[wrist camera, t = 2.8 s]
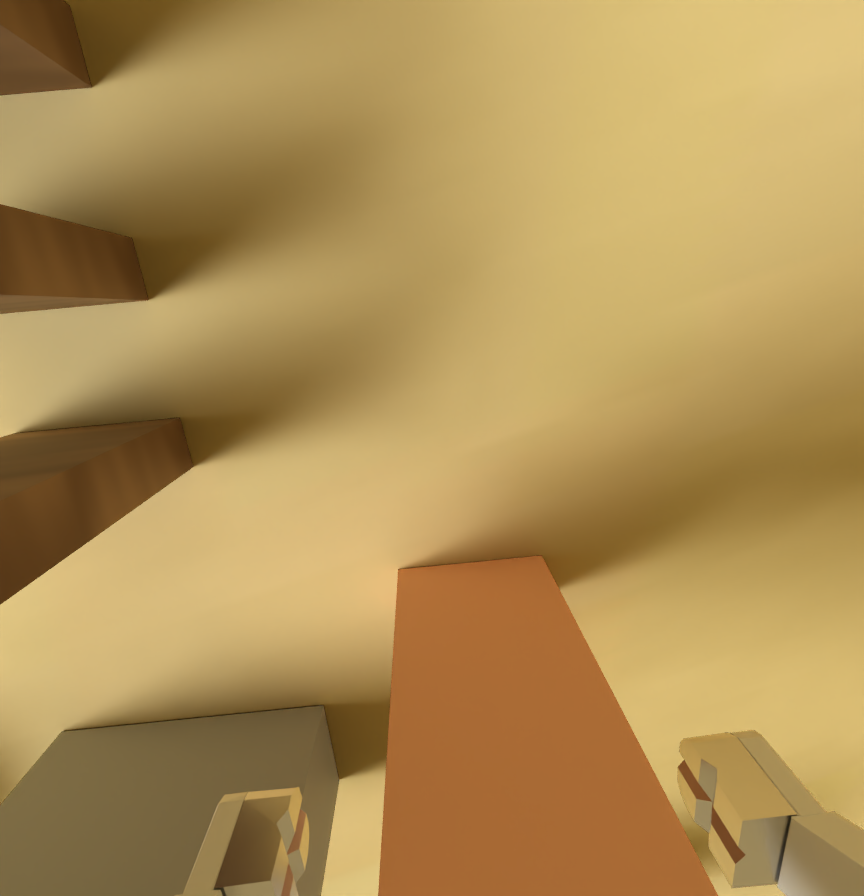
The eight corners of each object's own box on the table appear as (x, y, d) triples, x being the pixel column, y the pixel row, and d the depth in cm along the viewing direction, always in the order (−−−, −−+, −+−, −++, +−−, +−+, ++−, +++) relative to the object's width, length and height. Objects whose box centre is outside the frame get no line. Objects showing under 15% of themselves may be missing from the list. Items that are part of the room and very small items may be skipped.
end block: (323, 705, 17) (264, 963, 10) (338, 780, 18) (295, 1055, 11) (61, 731, 17) (-171, 1010, 10) (95, 805, 18) (-94, 1097, 11)
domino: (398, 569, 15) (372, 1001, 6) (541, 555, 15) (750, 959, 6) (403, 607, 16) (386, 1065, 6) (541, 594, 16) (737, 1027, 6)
